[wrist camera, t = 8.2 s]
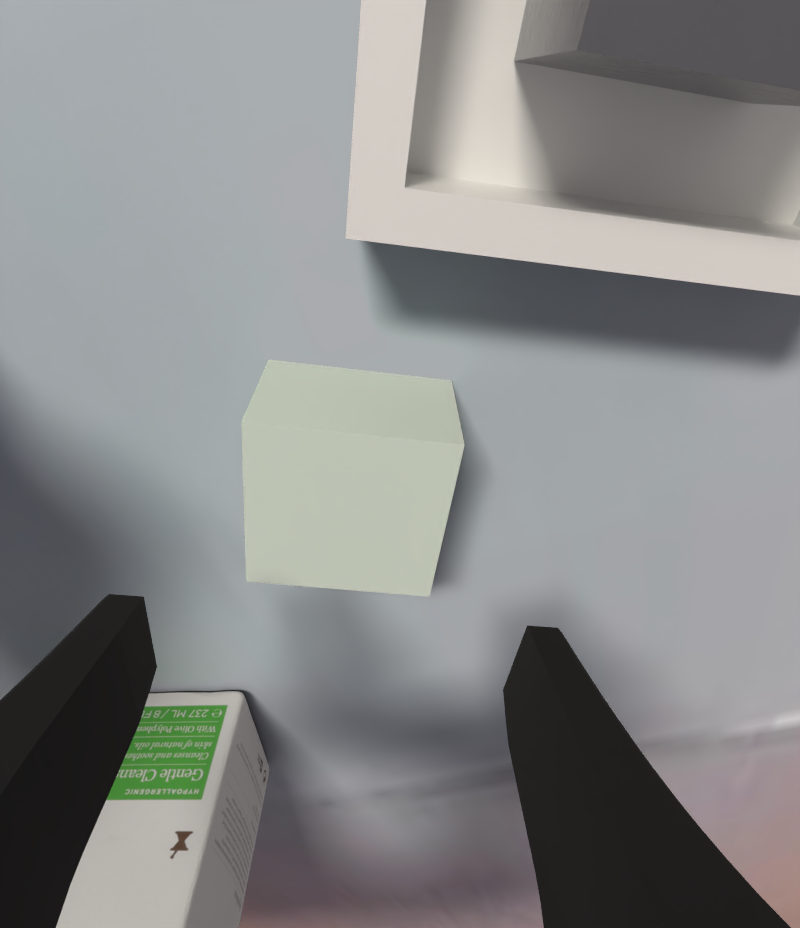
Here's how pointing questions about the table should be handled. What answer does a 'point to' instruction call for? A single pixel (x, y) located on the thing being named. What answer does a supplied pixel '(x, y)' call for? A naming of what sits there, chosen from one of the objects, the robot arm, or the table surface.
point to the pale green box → (348, 477)
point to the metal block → (672, 44)
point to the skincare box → (176, 820)
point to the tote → (562, 157)
